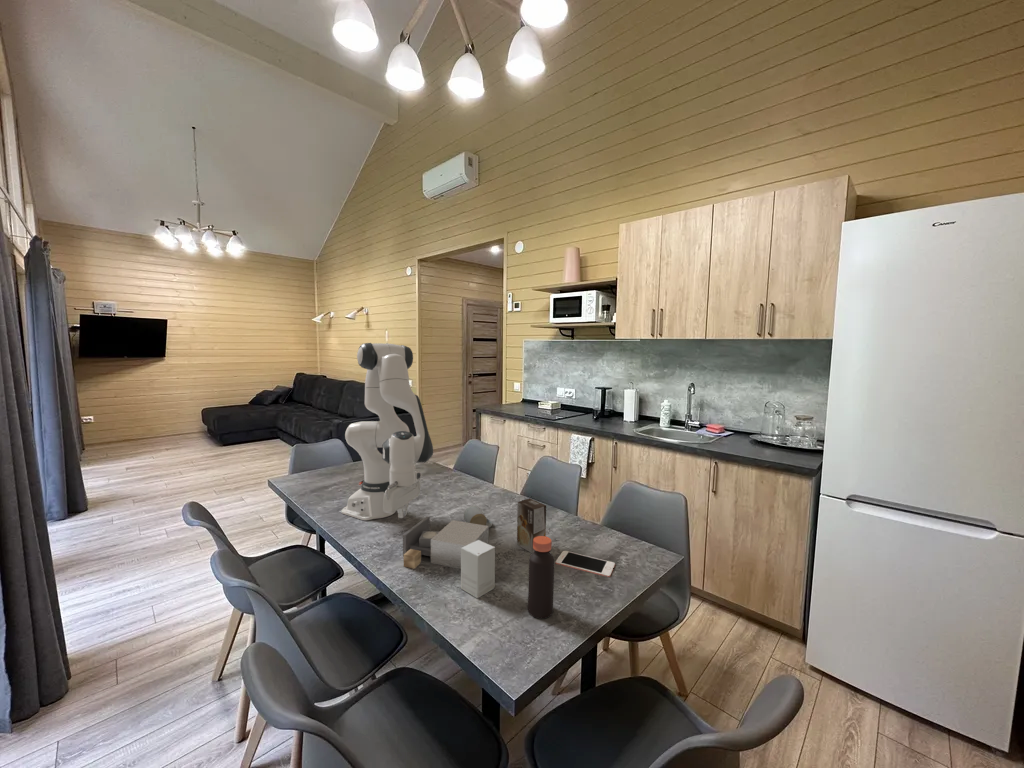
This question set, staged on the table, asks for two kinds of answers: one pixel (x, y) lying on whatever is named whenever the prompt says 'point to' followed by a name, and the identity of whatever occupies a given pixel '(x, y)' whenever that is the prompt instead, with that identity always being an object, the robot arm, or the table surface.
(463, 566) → the supplement box
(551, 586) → the bottle
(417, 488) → the robot arm
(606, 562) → the cell phone
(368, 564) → the table surface
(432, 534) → the push button
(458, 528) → the housing
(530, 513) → the coffee box
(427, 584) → the table surface
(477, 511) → the ceramic mug
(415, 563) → the block
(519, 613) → the table surface
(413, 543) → the tray
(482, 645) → the table surface
